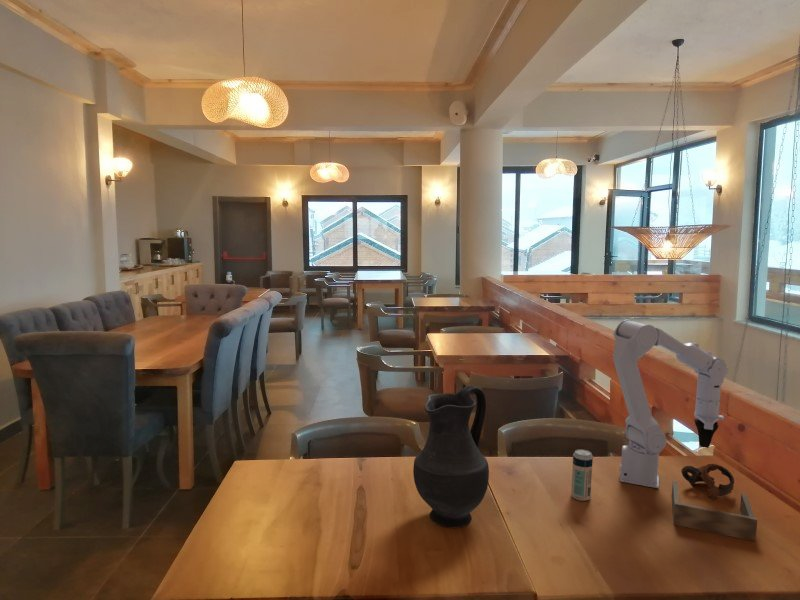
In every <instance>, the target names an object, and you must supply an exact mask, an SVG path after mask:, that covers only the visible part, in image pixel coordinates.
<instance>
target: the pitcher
mask: <svg viewBox="0 0 800 600" xmlns="http://www.w3.org/2000/svg"><path fill="white" fill-rule="evenodd" d="M472 393H473V394H474V395H475V399H476V400H475V399H474V398H473V397H472V395H471V394H472ZM475 408H476V409H475ZM474 409H475V414H474V418H473V422H472V425H471V427H470V425H469V423H470V418H471V415H472V413H473V410H474ZM486 410H487V400H486V395H485V392H484V390H483V389H482V388H480V387H479V386H478V387H477V386H476V385H475V386H474V385H472V384H471V385H470V384H469V385H466V386H465V387H463V388H461V389H460V390H459V391H458V392H456V393H447V392H445V393H442V392H441V393H433V394H430V395H428V396H427V402H426V403H425V405H424V411H425V412H426V413H427V416H428V417H429V420H430V424H429V428H428V436H427V439H426V442H425V444H424V447H423V448H422V450H421V451H420V452H419V453H418V454H417V455H416V456H415V458H414V460H413V481H414V485H415V488H416V490H417V493H418V494H419V497H421V499H422V500H423V501H424V502H425V503H426V505H428V506H429V507H430V508H431V509H432V510H431V511H430V513H429V518H430V521H431V522H433V523H434V524H436V525H438V526H440V527H444V528H460V527H464V526H467V525H468V524H470V523H471V522H472V514H471V513H472V511H474V510H476V508H478V506H479V505H480V504H481V503H482V501H483V499H484V498H485V495H486V493H487V490H488V486H489V480H490V469H489V463H488V459H487V458H486V456H484V455H483V454H482V453H481V452H480V449H479V447H480V439H481V435H482V432H483V426H484V422H485V417H486V412H487V411H486Z"/></svg>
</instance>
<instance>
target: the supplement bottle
mask: <svg viewBox="0 0 800 600" xmlns="http://www.w3.org/2000/svg"><path fill="white" fill-rule="evenodd" d="M593 458H594V456H593V454H592V452H591V451H589V450H586V449H582V448H581V449H579V448H578V449H575V451H574V453H572V475H571V489H570V490H571V491H570V496H571V497H572V498H573V499H575V500H577V501H580V502H587V501H588V500H589V501H590V499H591V498H592V497H591V496H592V475H593V463H594V462H593Z"/></svg>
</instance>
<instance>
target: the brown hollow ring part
mask: <svg viewBox="0 0 800 600" xmlns="http://www.w3.org/2000/svg"><path fill="white" fill-rule="evenodd" d="M716 470H718V471H720V473H721V474H722V475H723V476H725V477H727V478H728V479H729V483H728V484H722V483H719V485H718V486H716V485H715V484H716V481H715V478H714V477H712V476H710V474H709V473H710V472H711V471H716ZM680 471H681V476H682V478H684V480H686V481H687V482H688V483H689V484H690V486H692V487H694V486H695V484H696V483H698V482H703V483H705V484H706V486H707V487H709V488H710V489H711V491H710V492H709V493H708V497H709V498H710V499H712V498H713V500H716V499H717V498H718V497H720V498H721V497H723V496H727V495H730V494H731V493H732V492H733V490H734V484H735V478H734V476H733V473H732V472H730V471H729V470H728V469H727V468H725V467H724V466H722V465H719V464H717V463H708V464H706V465H702V466H700V467H694V466H692V465H685V466H683V467H682V469H681V470H680ZM690 474H691V475H690Z"/></svg>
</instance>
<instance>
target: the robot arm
mask: <svg viewBox="0 0 800 600" xmlns="http://www.w3.org/2000/svg"><path fill="white" fill-rule="evenodd" d="M613 337H614V345H613V346H614V347H613V354H612V360H613V363H614V367H615V371H616V374H617V378H618V381H619V384H620V388H621V392H622V395H623V399H624V403H625V406H626V410H627V412H628V416H627V417H626V418H625V419H624V420H625V429H624V430H625V432H624V433H625V437H626V438H627V439H628V440H629V441H628V445H622V447H621V459H620V460H621V461H620V465H619V472H620V477H619V481H620V482H623V483H627V484H632V485H638V486H643V487H648V488H655V489H659V487H660V483H659V482H660V480H659V478H660V477H659V475H658V473H659V472H658V470H659V460H660V459H659V458H660V454H661V452H662V451H663V450H664V449H665V447H666V445H667V436H666V434H665V433H664V432H663V431H662V429H661V427H660V424H659V422H657V419H656V418H654V417H653V415H652V412H651V409H650V405H649V401H648V398H647V395H646V390H645V388H644V387H645V386H644V383H643V379H642V376H641V373H640V370H639V369H640V368H639V366H638V360H640V359H641V358H642V357H643V356H645V355H646V353H648V352H649V351H650V350H652V348H653V347H658V346H660V347H661V348H664V349H666V350H668V351H670V352H671V353H674V354H675V355H676V356H675V357H676V360H677V361H679V362H680V363H682V364H683V365H686V366H687V367H689V368H690V369H692V370H694V372H695V373H696V374H697V380H696V381H697V383H696V384H697V385H696V395H695V408H694V409H695V410H694V412H693V416H694V417H695V418H693V421H694V424H695V427H696V429H697V433H698V434H697V435H698V443H699V447H700V448H707V449H708V448H710V445H711V443H712V440H713V437H714V435H715V433H716V431H717V430H719V429H718V428H719V424H718V421H719V420H720V421H721V420H724V418H725V417H724V415H722V414H720V406H721V405H720V403H721V392H722V385H723V384H724V378H725V377H726V375H727V374H728V372H729V367H727V364H726V362H725V360H724V359H722V358H719V357H717V356H714V355H712V352H711V351H709V350H704V349H702V348H701V347H700V344H698V343H697V342H685V343H683V342H681V341H679V340H678V339H677V338H675V337H673V336H672V335H670V334H669V333H667V332H666V331H664V330H663V329H660V328H658V327H655V326H654V325H653V324H652V325H651V324H646V323H641V322H639V321H638V322H637V321H634V320H632V319H624V320H621V321H620V322H619V324H617V326H616V328H615V329H614V331H613Z"/></svg>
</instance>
